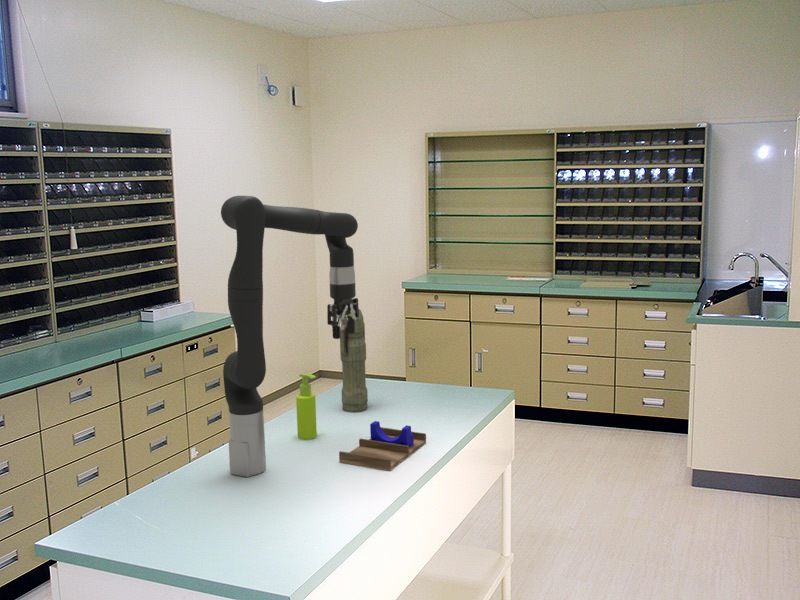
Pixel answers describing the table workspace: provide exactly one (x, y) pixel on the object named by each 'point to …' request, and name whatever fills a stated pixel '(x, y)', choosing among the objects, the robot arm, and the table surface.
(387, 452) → the rack
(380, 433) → the blue cradle stand
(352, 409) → the thermos
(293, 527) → the table surface
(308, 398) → the soap dispenser
